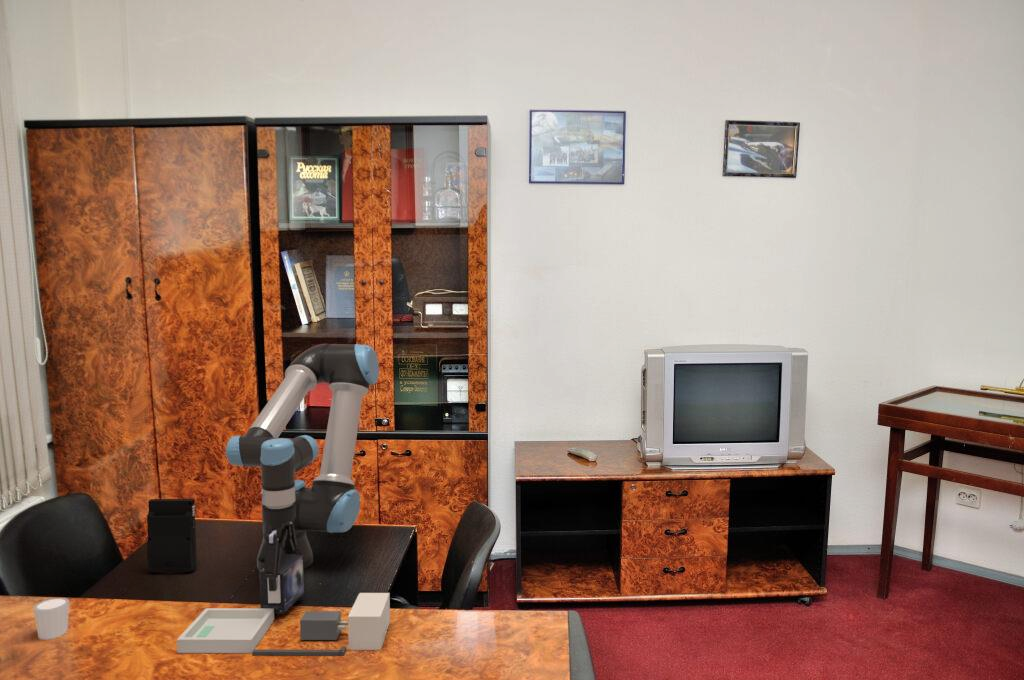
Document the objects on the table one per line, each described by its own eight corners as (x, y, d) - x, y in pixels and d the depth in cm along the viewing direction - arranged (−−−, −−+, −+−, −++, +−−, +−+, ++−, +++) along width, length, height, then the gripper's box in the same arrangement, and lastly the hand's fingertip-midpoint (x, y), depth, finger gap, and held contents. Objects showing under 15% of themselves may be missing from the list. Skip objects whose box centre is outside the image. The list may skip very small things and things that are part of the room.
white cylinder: (33, 643, 161) (31, 613, 160) (36, 630, 167) (35, 600, 166) (69, 636, 164) (68, 606, 163) (71, 624, 170) (70, 595, 169)
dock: (206, 620, 172) (205, 608, 172) (274, 620, 172) (273, 608, 172) (177, 652, 157) (176, 639, 157) (251, 653, 157) (251, 639, 157)
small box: (285, 615, 172) (282, 573, 171) (259, 612, 174) (257, 570, 172) (306, 593, 183) (304, 554, 181) (282, 591, 184) (279, 552, 182)
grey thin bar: (256, 649, 158) (256, 646, 158) (346, 649, 158) (346, 646, 158) (252, 655, 156) (252, 651, 156) (343, 655, 156) (343, 652, 156)
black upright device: (198, 568, 203) (196, 498, 201) (191, 575, 198) (189, 503, 196) (154, 569, 202) (151, 498, 201) (146, 575, 198) (143, 503, 196)
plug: (306, 630, 167) (305, 611, 166) (349, 630, 167) (348, 611, 166) (300, 639, 162) (300, 620, 162) (344, 640, 162) (344, 620, 162)
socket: (359, 623, 170) (358, 592, 170) (389, 624, 170) (389, 592, 170) (347, 649, 158) (347, 616, 158) (380, 649, 158) (380, 616, 158)
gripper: (279, 488, 187) (282, 570, 189) (245, 521, 163) (249, 614, 166) (308, 488, 187) (311, 570, 189) (279, 521, 163) (282, 614, 166)
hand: (282, 591), depth 178 cm, fingers closed on small box, 11 cm apart
